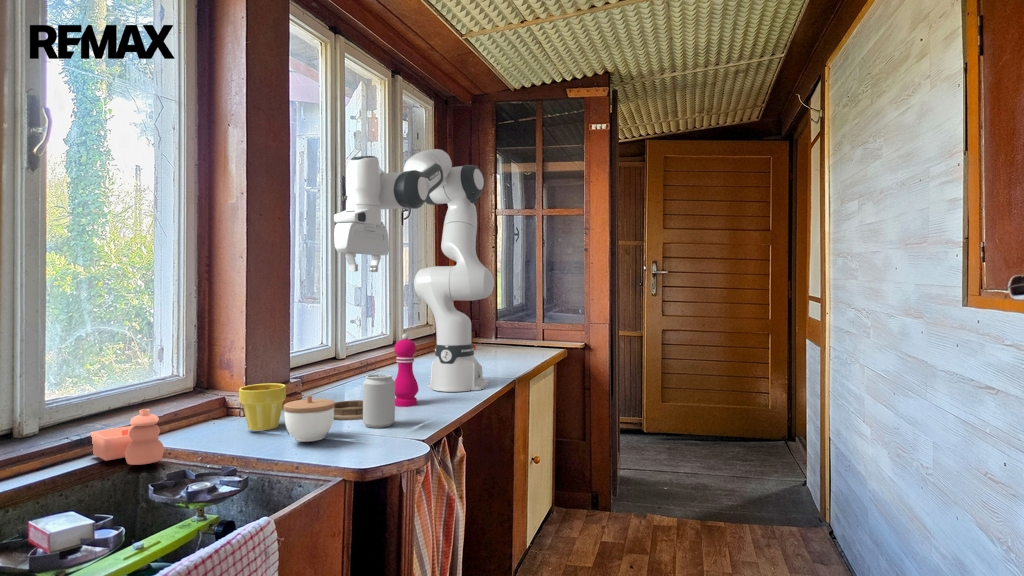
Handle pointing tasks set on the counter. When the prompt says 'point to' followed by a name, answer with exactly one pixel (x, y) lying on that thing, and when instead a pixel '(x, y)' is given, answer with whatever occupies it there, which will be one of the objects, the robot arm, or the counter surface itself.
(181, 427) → the counter surface
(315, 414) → the lidded jar
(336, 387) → the counter surface
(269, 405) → the plant pot
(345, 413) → the stand
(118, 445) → the pottery
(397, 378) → the pepper mill
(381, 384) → the can
